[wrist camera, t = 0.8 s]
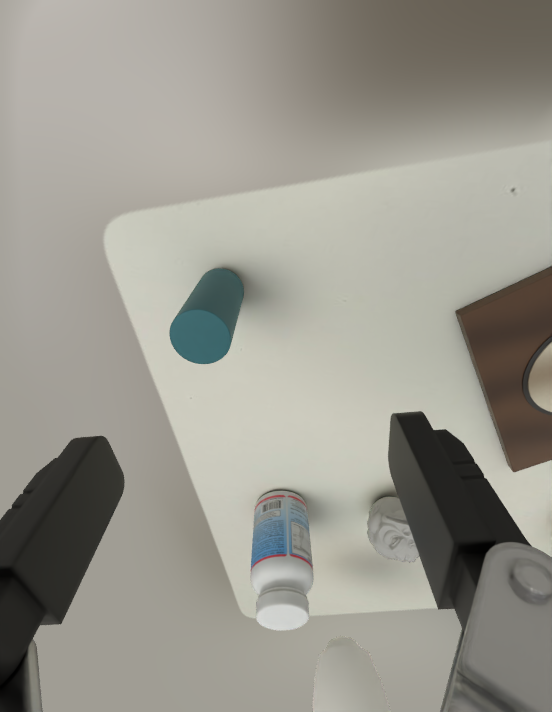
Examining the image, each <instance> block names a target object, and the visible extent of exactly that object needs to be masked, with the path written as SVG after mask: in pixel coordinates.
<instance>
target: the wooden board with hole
mask: <svg viewBox="0 0 552 712" xmlns="http://www.w3.org/2000/svg"><path fill="white" fill-rule="evenodd" d="M456 315H457V318H458V321H459V324H460V327H461V330H462V333H463V336H464V338H465V341H466V344H467V347H468V350H469V353H470V356H471V359H472V362H473V365H474V367H475V370H476V373H477V376H478V379H479V382H480V385H481V388H482V391H483V393H484V396H485V399H486V402H487V405H488V408H489V411H490V414H491V417H492V420H493V422H494V425H495V428H496V431H497V434H498V437H499V440H500V443H501V446H502V449H503V451H504V454H505V457H506V460H507V463H508V466H509V467H510V468H511V470H512V471H513V472H516V471H519V470H522V469H525V468H528V467H531V466H534V465H537V464H540V463H544V462H547V461H550V460H552V267H550V268H548V269H546V270H544V271H541V272H539V273H537V274H535V275H533V276H531V277H528V278H526V279H524V280H522V281H520V282H518V283H516V284H513V285H511V286H509V287H507V288H505V289H503V290H501V291H498V292H496V293H494V294H492V295H490V296H488V297H485V298H483V299H481V300H479V301H477V302H475V303H473V304H470V305H468V306H466V307H464V308H462V309H460V310H458V311H456Z"/></svg>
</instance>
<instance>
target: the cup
mask: <svg viewBox="0 0 552 712" xmlns="http://www.w3.org/2000/svg"><path fill="white" fill-rule="evenodd" d="M312 712H391V709H390V706H389V703H388V700H387V697H386V694H385V690H384V687H383V684H382V681H381V679H380V677H379V674H378V672H377V669H376V667H375V665H374V663H373V660H372V658H371V656H370V654H369V652H368V651H366V650H365V649H363V648H361V647H360V646H359V645H358V644H357V643H356V641H355V640H354V639H352V638H349V637H344V636H340V637H337V638H334V639H332V640H331V641H330V642H329V643H328V645H327V647H326V649H325V650H324V651H323V652H321V653H320V654H319V657H318V662H317V668H316V674H315V680H314V691H313V711H312Z"/></svg>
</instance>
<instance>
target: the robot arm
mask: <svg viewBox="0 0 552 712" xmlns="http://www.w3.org/2000/svg"><path fill="white" fill-rule="evenodd" d="M388 460H389V468H390V473H391V477H392V480H393V483H394V485H395V488H396V491H397V494H398V497H399V499H400V502H401V505H402V508H403V511H404V514H405V516H406V519H407V522H408V525H409V528H410V530H411V533H412V536H413V539H414V542H415V545H416V547H417V550H418V553H419V556H420V559H421V561H422V564H423V567H424V570H425V573H426V576H427V578H428V581H429V584H430V587H431V590H432V593H433V595H434V598H435V601H436V604H437V607H438V609H455V611H456V614H457V616H458V619H459V621H460V624H461V626H462V630H461V634H460V638H459V641H458V645H457V650H456V653H455V657H454V660H453V664H452V668H451V672H450V676H449V679H448V683H447V687H446V691H445V695H444V698H443V702H442V706H441V710H440V712H552V557H550V556H549V555H547V554H546V553H544V552H542V551H540V550H538V549H536V548H534V547H532V546H531V545H530V544H529V542H528V541H527V540H526V538H525V537H524V536H523V534H522V533H521V531H520V529H519V528H518V526H517V525H516V523H515V522H514V520H513V519H512V517H511V516H510V514H509V513H508V511H507V509H506V508H505V506H504V505H503V503H502V502H501V500H500V499H499V497H498V496H497V494H496V493H495V491H494V490H493V488H492V486H491V485H490V483H489V482H488V480H487V479H486V478H484V474H483V473H482V471H481V470H480V468H479V467H478V465H477V464H475V462H474V459H473V457H472V456H471V454H470V453H469V451H468V450H467V448H466V447H465V445H464V444H463V443H462V442H461V441H460V440H459V439H457V438H456V437H455V436H453V435H452V434H451V433H450V432H448V431H447V430H446V429H444V430H433V428H432V427H431V425H430V423H429V421H428V420H427V418H426V416H425V415H424V413H423V412H421V411H419V412H406V413H394V414H392V416H391V422H390V436H389V451H388ZM123 490H124V475H123V472H122V470H121V467H120V465H119V463H118V461H117V459H116V457H115V455H114V453H113V450H112V448H111V446H110V444H109V442H108V440H107V439H106V438H105V437H103V436H94V437H81V438H75V439H73V440H71V441H70V443H69V444H68V445H67V446H66V448H65V449H64V450H63V452H62V453H61V454H60V456H59V457H58V458H55V459H53V461H51V462H50V463H49V464H48V465H46V466H45V467H44V468H43V469H42V470H40V471H39V472H38V473H36V475H35V476H34V477H33V479H32V480H31V481H30V482H29V484H28V485H27V486H26V488H25V489H24V490H23V494H20V495H19V497H18V498H17V499H16V501H15V502H14V503H13V504H12V508H11V509H9V510H8V511H7V512H6V514H5V515H4V516H3V517H2V518H1V520H0V712H43V711H42V700H41V689H40V678H39V666H38V656H37V647H36V643H35V641H34V640H33V637H34V635H35V633H36V631H37V629H38V627H39V626H40V625H52V624H61V623H62V621H63V619H64V617H65V615H66V613H67V611H68V609H69V606H70V604H71V602H72V600H73V598H74V596H75V594H76V592H77V589H78V587H79V585H80V583H81V581H82V579H83V577H84V575H85V572H86V570H87V568H88V566H89V564H90V562H91V560H92V558H93V556H94V553H95V551H96V549H97V547H98V545H99V543H100V541H101V539H102V536H103V534H104V532H105V530H106V528H107V526H108V524H109V522H110V519H111V517H112V515H113V513H114V511H115V509H116V507H117V505H118V502H119V500H120V498H121V496H122V494H123Z"/></svg>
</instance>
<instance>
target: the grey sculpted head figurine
mask: <svg viewBox="0 0 552 712" xmlns="http://www.w3.org/2000/svg"><path fill="white" fill-rule="evenodd" d="M367 524H368V531H367V534H368V538H369V540H370V542H371V544H372V545H373V546H374V548H375V549H376V551H377V552H378V553H379V554H381V555H382V556H384V557H386V558H388V559H394V560H400V561H402V562H404V561H408V562H411V561H412V562H414V561H415V560H416V558H418V557H419V553H418V550H417V547H416V545H415V542H414V539H413V536H412V533H411V530H410V528H409V525H408V522H407V519H406V516H405V514H404V511H403V508H402V505H401V502H400V499H399V498H396V497H384V498H381V499H379V500H378V501H376V502H375V503H374V504H373V506H372V507H371V510H370V513H369V519H368V523H367Z"/></svg>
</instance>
